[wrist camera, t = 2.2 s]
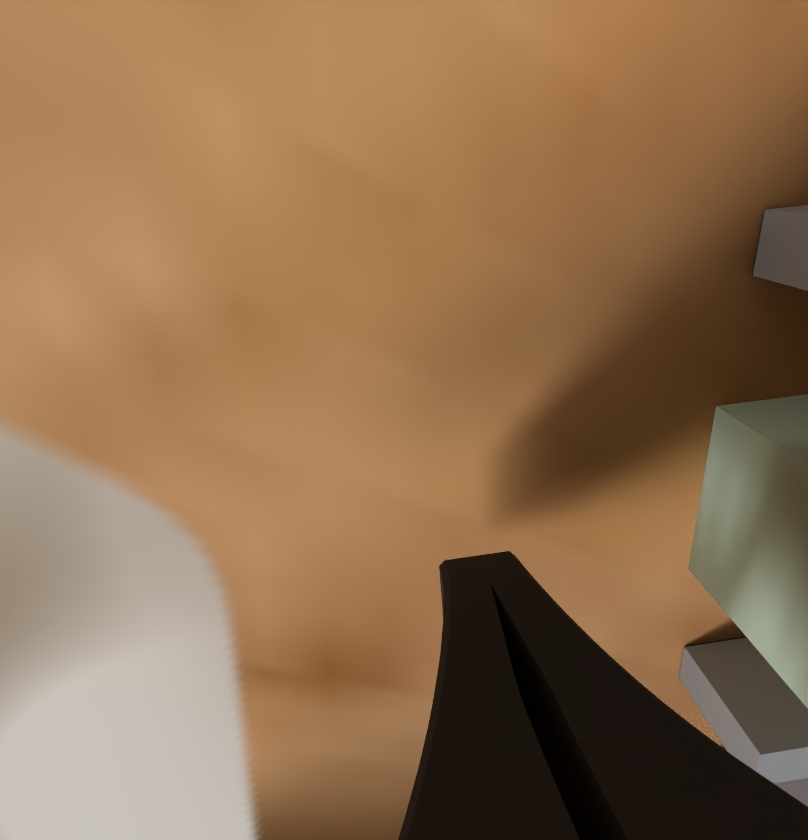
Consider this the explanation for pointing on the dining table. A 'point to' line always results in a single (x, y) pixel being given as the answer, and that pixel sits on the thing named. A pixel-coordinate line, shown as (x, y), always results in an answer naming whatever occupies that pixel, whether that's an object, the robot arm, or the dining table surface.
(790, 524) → the green block
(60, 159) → the dining table surface
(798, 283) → the tunnel
